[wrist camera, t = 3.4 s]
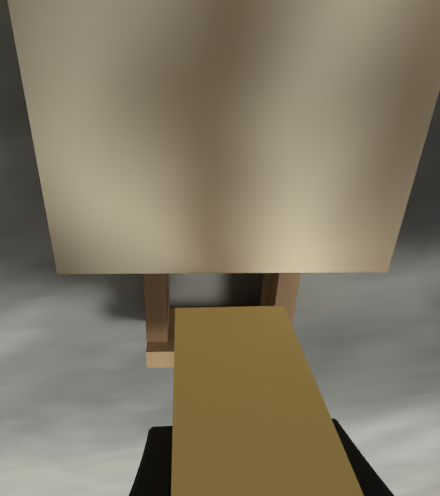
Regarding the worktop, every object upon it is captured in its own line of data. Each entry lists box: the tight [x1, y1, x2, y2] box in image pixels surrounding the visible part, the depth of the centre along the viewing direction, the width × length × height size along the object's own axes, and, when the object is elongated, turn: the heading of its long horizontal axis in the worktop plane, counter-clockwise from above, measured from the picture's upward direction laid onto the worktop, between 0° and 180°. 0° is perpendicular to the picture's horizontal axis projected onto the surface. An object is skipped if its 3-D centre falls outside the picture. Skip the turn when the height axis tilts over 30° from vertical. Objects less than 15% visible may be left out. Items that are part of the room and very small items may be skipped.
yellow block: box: [171, 306, 364, 496], centre depth 11 cm, size 4×4×7 cm
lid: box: [7, 0, 440, 274], centre depth 10 cm, size 13×16×3 cm
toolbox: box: [143, 273, 300, 368], centre depth 15 cm, size 13×22×4 cm, turn 177°
